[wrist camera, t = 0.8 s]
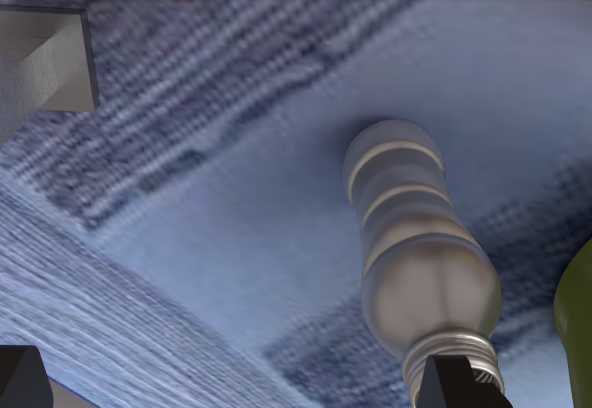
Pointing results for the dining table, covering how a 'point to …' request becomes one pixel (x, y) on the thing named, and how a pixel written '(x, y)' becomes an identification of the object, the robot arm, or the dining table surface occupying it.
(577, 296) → the plant pot
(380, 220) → the plastic bottle
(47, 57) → the cup bracket
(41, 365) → the robot arm
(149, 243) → the dining table surface
